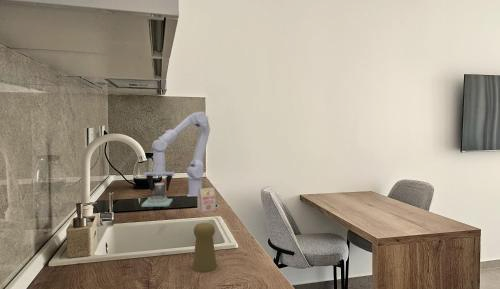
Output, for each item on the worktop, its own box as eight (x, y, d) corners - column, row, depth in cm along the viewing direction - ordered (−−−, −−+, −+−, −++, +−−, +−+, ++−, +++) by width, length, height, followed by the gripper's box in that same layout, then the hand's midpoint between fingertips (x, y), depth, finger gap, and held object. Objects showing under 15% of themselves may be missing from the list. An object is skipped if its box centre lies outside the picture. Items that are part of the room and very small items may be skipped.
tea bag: (197, 211, 146) (197, 188, 145) (212, 209, 149) (212, 186, 149) (200, 213, 143) (200, 189, 142) (215, 211, 146) (215, 187, 145)
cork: (190, 264, 88) (189, 222, 87) (212, 261, 90) (212, 219, 90) (196, 273, 82) (195, 228, 82) (220, 269, 85) (219, 225, 84)
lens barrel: (155, 198, 175) (155, 182, 175) (165, 198, 176) (165, 182, 175) (153, 200, 170) (153, 184, 170) (164, 200, 171) (163, 184, 170)
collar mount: (150, 199, 166) (150, 195, 166) (168, 199, 167) (168, 195, 167) (146, 203, 158) (146, 199, 157) (165, 203, 158) (165, 198, 158)
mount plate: (147, 201, 168) (147, 199, 168) (172, 200, 169) (172, 198, 168) (141, 206, 156) (141, 204, 156) (168, 206, 157) (168, 203, 157)
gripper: (142, 164, 168) (143, 192, 168) (172, 164, 169) (173, 191, 169) (146, 163, 175) (146, 189, 175) (174, 162, 176) (175, 189, 176)
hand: (159, 190), depth 173 cm, fingers open, 7 cm apart
